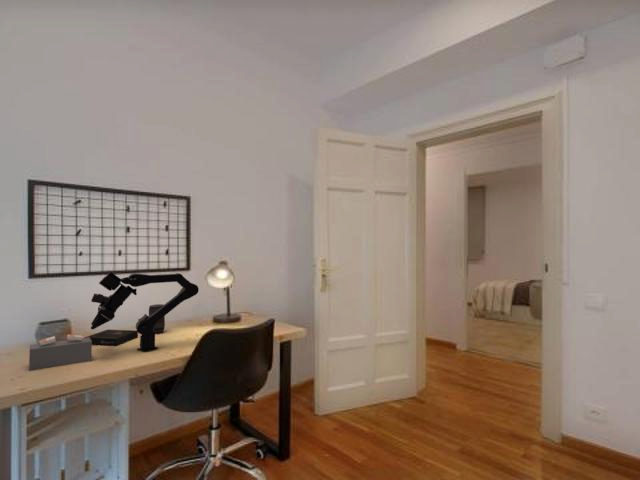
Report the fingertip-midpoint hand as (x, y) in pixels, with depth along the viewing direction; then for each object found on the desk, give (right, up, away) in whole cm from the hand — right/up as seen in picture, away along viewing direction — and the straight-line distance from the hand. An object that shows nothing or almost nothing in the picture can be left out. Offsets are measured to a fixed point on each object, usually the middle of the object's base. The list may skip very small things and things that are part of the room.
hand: (91, 326), depth 154 cm
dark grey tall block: (+9, -14, +42) cm, 45 cm away
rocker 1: (-10, -3, -12) cm, 16 cm away
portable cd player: (-6, -14, +25) cm, 29 cm away
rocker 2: (-3, -3, -6) cm, 7 cm away
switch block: (-7, -12, -9) cm, 17 cm away
